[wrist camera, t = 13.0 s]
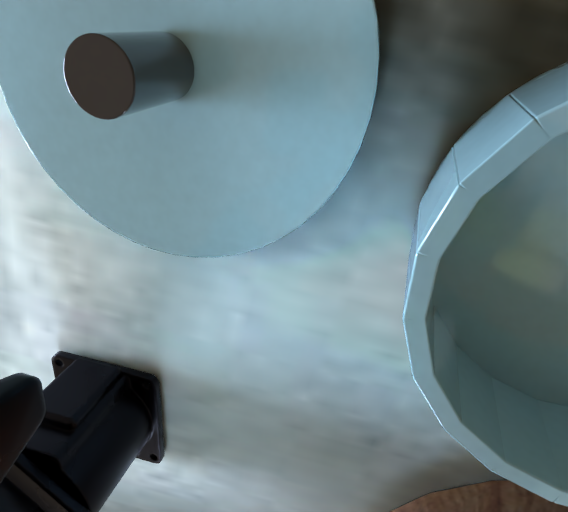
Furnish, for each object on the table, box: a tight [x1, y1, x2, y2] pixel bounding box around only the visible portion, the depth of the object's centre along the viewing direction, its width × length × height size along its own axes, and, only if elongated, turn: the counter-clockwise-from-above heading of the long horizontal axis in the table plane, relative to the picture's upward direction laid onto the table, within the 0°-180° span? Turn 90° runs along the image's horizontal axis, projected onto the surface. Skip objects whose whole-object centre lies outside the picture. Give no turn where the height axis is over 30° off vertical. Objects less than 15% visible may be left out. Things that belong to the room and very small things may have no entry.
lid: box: [0, 0, 380, 257], centre depth 16 cm, size 15×15×5 cm
